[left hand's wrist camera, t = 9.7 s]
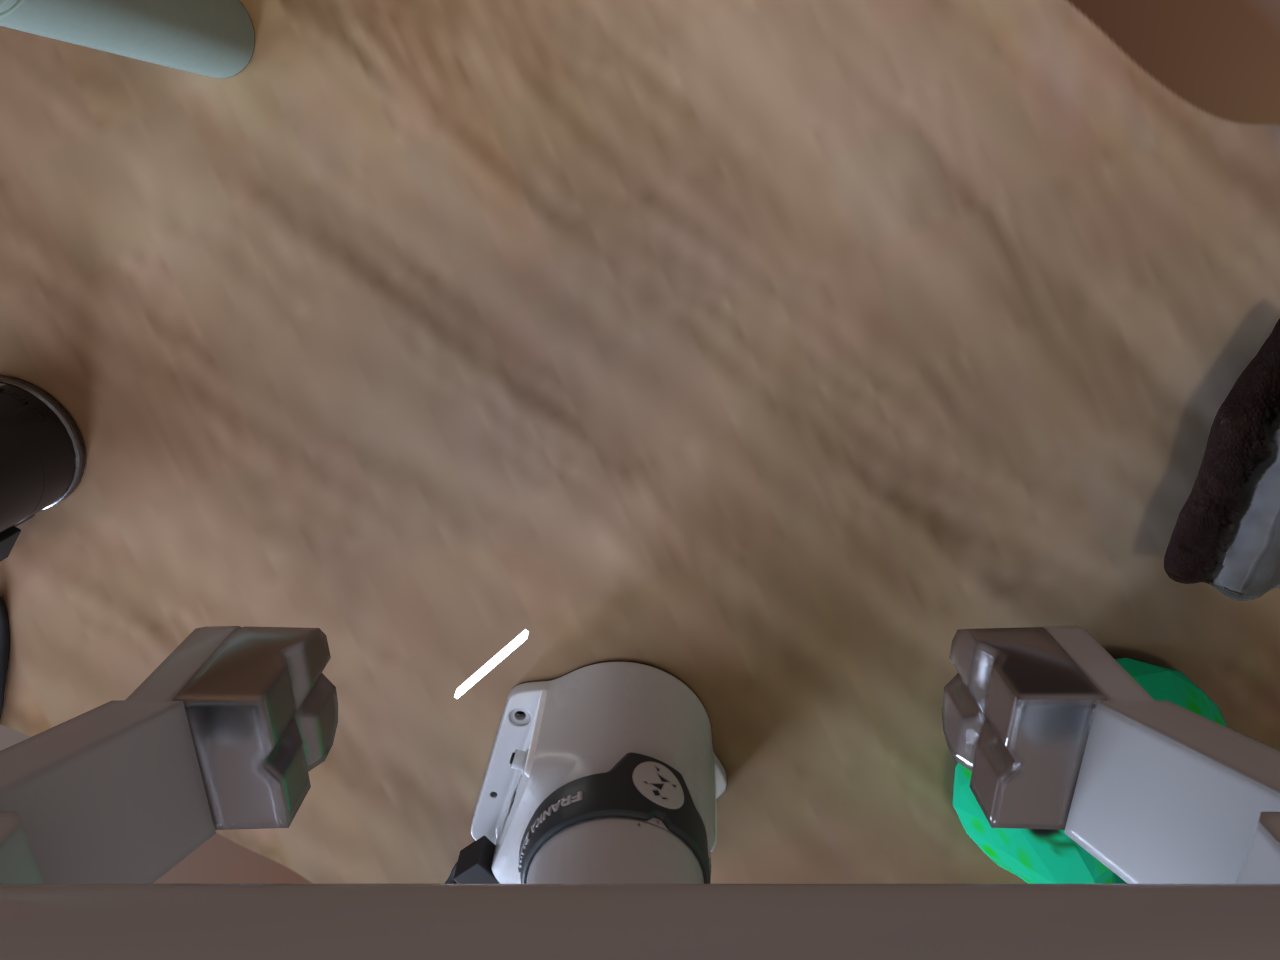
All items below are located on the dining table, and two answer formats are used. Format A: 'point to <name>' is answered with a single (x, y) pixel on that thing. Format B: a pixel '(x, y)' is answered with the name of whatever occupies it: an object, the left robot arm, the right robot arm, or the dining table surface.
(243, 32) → the bottle
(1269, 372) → the rock
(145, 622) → the dining table surface
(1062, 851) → the toy
